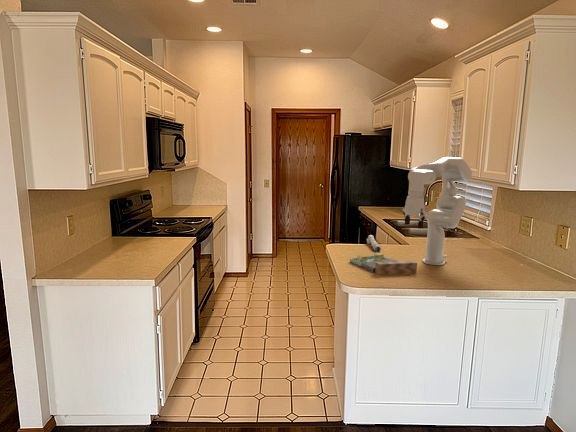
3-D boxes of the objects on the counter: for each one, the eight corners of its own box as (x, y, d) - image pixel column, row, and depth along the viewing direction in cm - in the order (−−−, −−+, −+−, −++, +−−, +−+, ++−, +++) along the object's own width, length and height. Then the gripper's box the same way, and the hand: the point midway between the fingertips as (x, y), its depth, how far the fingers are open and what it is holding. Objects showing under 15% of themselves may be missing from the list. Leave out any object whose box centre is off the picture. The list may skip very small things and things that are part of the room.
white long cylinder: (374, 246, 262) (366, 232, 286) (373, 255, 265) (365, 241, 288) (382, 246, 263) (374, 232, 286) (381, 255, 265) (373, 241, 288)
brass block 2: (383, 260, 240) (378, 259, 244) (383, 254, 239) (379, 252, 243) (378, 261, 238) (373, 259, 242) (378, 255, 238) (374, 253, 241)
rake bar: (412, 271, 224) (413, 260, 223) (416, 273, 220) (417, 262, 219) (375, 272, 220) (375, 262, 219) (378, 275, 216) (378, 264, 215)
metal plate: (391, 262, 239) (391, 258, 238) (403, 267, 230) (404, 263, 230) (361, 267, 228) (361, 262, 228) (373, 272, 220) (373, 267, 219)
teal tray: (379, 258, 248) (379, 254, 248) (391, 262, 239) (391, 259, 239) (349, 262, 238) (349, 258, 237) (361, 267, 229) (361, 263, 228)
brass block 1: (366, 263, 234) (362, 261, 238) (367, 256, 234) (362, 254, 237) (361, 264, 232) (356, 262, 236) (361, 257, 232) (357, 255, 235)
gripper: (398, 192, 221) (397, 223, 224) (423, 197, 206) (420, 230, 209) (409, 192, 224) (407, 222, 228) (433, 196, 209) (431, 228, 213)
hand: (413, 226), depth 218 cm, fingers open, 9 cm apart
